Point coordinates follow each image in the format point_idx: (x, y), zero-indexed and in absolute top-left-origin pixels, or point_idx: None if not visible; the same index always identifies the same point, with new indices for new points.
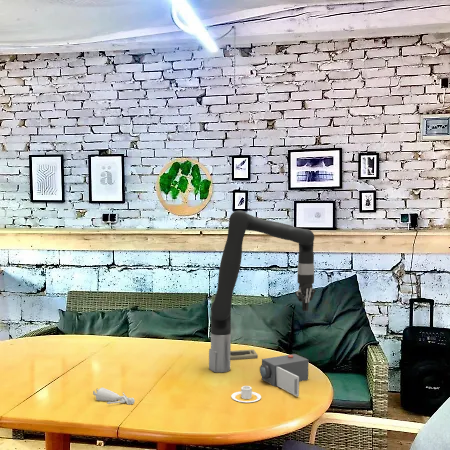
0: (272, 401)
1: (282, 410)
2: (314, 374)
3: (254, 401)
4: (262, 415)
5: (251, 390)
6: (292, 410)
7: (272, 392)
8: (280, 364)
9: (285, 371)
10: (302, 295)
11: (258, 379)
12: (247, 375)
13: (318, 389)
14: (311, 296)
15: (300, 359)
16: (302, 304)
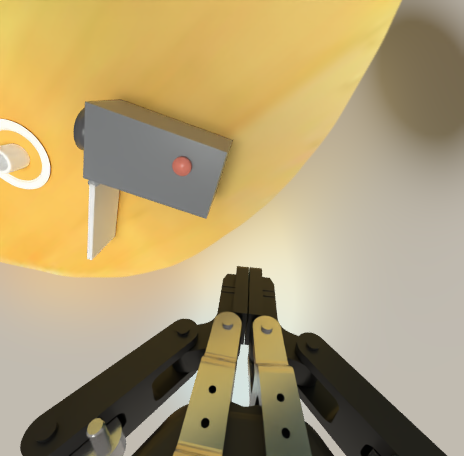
0: (58, 209)
1: (52, 243)
2: (261, 186)
3: (20, 187)
4: (8, 231)
5: (12, 171)
6: (68, 254)
7: (87, 181)
8: (104, 184)
9: (88, 218)
10: (215, 389)
11: (112, 92)
12: (104, 35)
13: (182, 240)
14: (314, 413)
15: (189, 200)
16: (219, 306)
